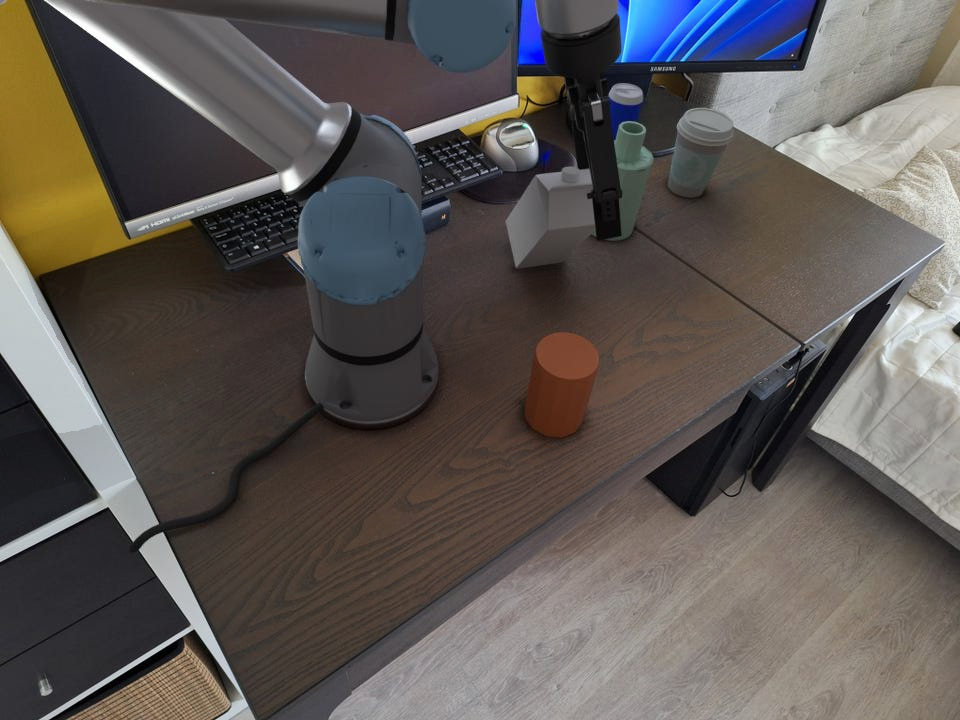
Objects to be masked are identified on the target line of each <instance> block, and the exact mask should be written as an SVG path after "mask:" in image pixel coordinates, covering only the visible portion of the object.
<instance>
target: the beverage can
mask: <svg viewBox="0 0 960 720" xmlns="http://www.w3.org/2000/svg"><path fill="white" fill-rule="evenodd" d="M608 97H609V100H610V103H611V105H610V114H611V124H612V131H613V138H614V140H616V136H617V132H618V128H619V125H620V124H621V123H622V122H626V121H632V122H637V123H638V121H639V117H640V113H641V110H642V105H643V102H644V92H643V89H641V88H640V87H639V86H638V85H635V84H632V83H626V82H621V83H620V82H619V83H616V84H613V85H612V87H611V89H610V90H609V95H608Z"/></svg>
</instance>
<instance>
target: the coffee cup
mask: <svg viewBox="0 0 960 720" xmlns="http://www.w3.org/2000/svg"><path fill="white" fill-rule="evenodd" d="M676 130H677V132H676V138H675V143H674V149H673V154H672V160H671V165H670V170H669V175H668V182H667V187H668V189H669V190H670V192H672V193H673V194H675V195H677V196H680V197H683V198H691V199H692V198H697V197H700V196H701V195H702V194H703V193H704V192H705V189H706V187H707V186H708V184H709V182H710V180H711V177H712V176H713V173H714V172H715V170H716V168H717V167H718V164H719V162H720V160H721V158H722V156H723V154H724V152H725V150H726V148H727V147H728V144H729V143H731V142H732V140H733V138H734V133H735V132H734V121H733V120H732V118H730V117H729V116H728V115H727V114H725V113H723V112H721V111H720V110H717V109H712V108H708V107H696V108H690V109H687V110H686V111H685V112H684V113H683V115H682V117H681V118H680V119H679V121H678V122H677V124H676Z"/></svg>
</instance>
